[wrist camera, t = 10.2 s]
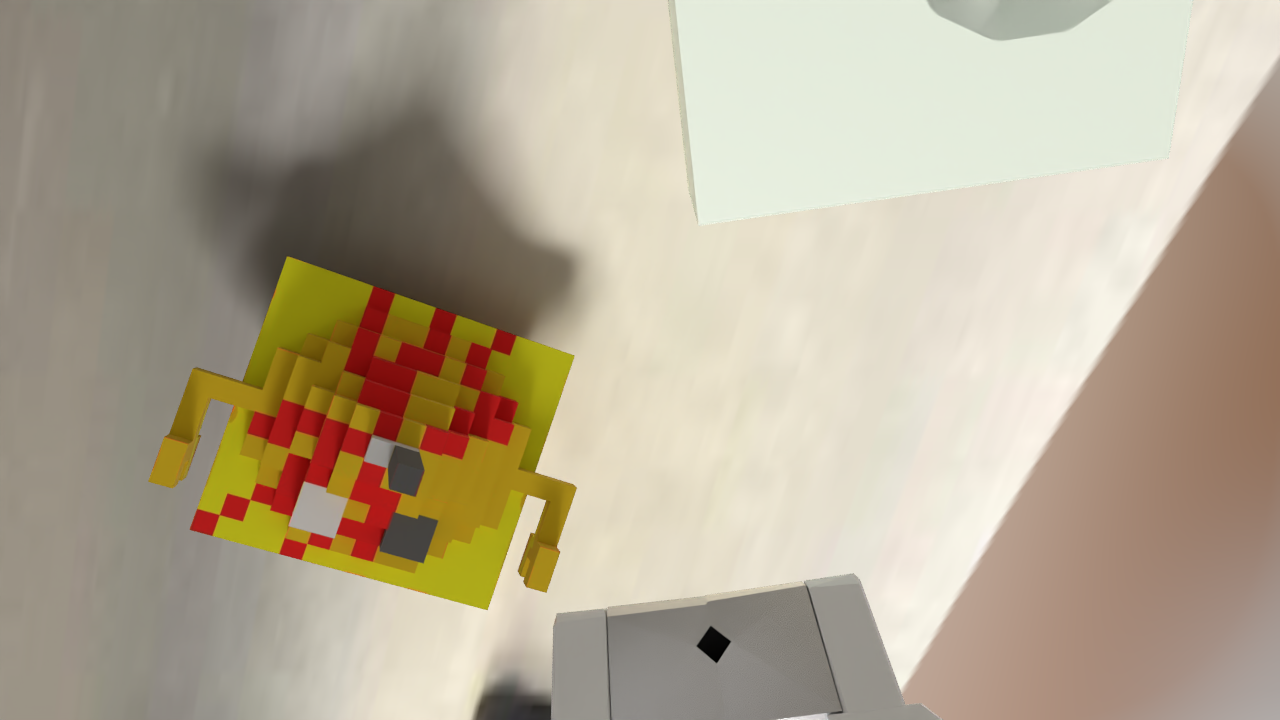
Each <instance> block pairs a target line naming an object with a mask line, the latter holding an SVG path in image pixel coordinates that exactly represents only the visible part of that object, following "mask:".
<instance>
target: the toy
mask: <svg viewBox="0 0 1280 720" xmlns="http://www.w3.org/2000/svg"><path fill="white" fill-rule="evenodd" d="M573 359H574V355H571V354H568V353H565V352H562V351H560V350H557V349H554V348H551V347H548V346H545V345H542V344H539V343H537V342H534V341H531V340H528V339H525V338H522V337H519V336H516V335H513V334H511V333H508V332H505V331H502V330H499V329H496V328H493V327H490V326H487V325H485V324H482V323H479V322H476V321H473V320H470V319H467V318H464V317H462V316H459V315H456V314H453V313H450V312H447V311H444V310H441V309H438V308H436V307H433V306H430V305H427V304H424V303H421V302H418V301H415V300H412V299H410V298H407V297H404V296H401V295H398V294H395V293H392V292H389V291H387V290H384V289H381V288H378V287H375V286H372V285H369V284H366V283H363V282H361V281H358V280H355V279H352V278H349V277H346V276H343V275H340V274H337V273H335V272H332V271H329V270H326V269H323V268H320V267H317V266H314V265H312V264H309V263H306V262H303V261H300V260H297V259H294V258H291V257H288V256H287V258H286V261H285V264H284V267H283V270H282V272H281V275H280V278H279V281H278V284H277V286H276V289H275V292H274V295H273V298H272V300H271V303H270V306H269V309H268V312H267V314H266V317H265V320H264V323H263V326H262V328H261V331H260V334H259V337H258V340H257V342H256V345H255V348H254V351H253V354H252V356H251V359H250V362H249V365H248V368H247V370H246V373H245V376H244V379H243V382H242V381H239V380H236V379H233V378H229V377H226V376H223V375H220V374H216V373H213V372H210V371H207V370H204V369H200V368H193V369H192V372H191V375H190V378H189V380H188V383H187V386H186V389H185V392H184V394H183V397H182V400H181V403H180V406H179V408H178V411H177V414H176V417H175V419H174V422H173V425H172V428H171V431H170V433H169V434H168V435H167V436H165V437H164V439H163V442H162V445H161V448H160V450H159V453H158V456H157V459H156V461H155V464H154V467H153V470H152V473H151V475H150V478H149V481H148V482H151V483H155V484H159V485H162V486H166V487H169V488H174V487H175V486H176V485H177V484H178V481H179V480H181V481H182V480H183V479H185V478H186V476H187V473H188V471H189V468H190V465H191V462H192V459H193V457H194V454H195V451H196V448H197V445H198V443H199V440H200V437H201V435H198V434H199V431H200V429H201V426H202V423H203V420H204V417H205V415H206V412H207V409H208V406H209V403H210V401H211V398H212V399H215V400H218V401H222V402H225V403H228V404H231V405H234V407H233V410H232V412H231V415H230V418H229V421H228V424H227V426H226V429H225V432H224V435H223V438H222V440H221V443H220V446H219V449H218V452H217V454H216V457H215V460H214V463H213V466H212V468H211V471H210V474H209V477H208V480H207V482H206V485H205V488H204V491H203V494H202V497H201V499H200V502H199V505H198V508H197V511H196V513H195V516H194V519H193V522H192V525H191V527H190V530H192V531H196V532H200V533H203V534H207V535H211V536H215V537H218V538H222V539H226V540H229V541H233V542H237V543H241V544H244V545H248V546H252V547H255V548H259V549H263V550H266V551H270V552H274V553H278V554H281V555H285V556H289V557H292V558H296V559H300V560H303V561H307V562H311V563H315V564H318V565H322V566H326V567H329V568H333V569H337V570H341V571H344V572H348V573H352V574H355V575H359V576H363V577H366V578H370V579H374V580H378V581H381V582H385V583H389V584H392V585H396V586H400V587H404V588H407V589H411V590H415V591H418V592H422V593H426V594H429V595H433V596H437V597H441V598H444V599H448V600H452V601H455V602H459V603H463V604H467V605H470V606H474V607H478V608H481V609H485V610H488V607H489V604H490V601H491V598H492V595H493V593H494V590H495V587H496V584H497V581H498V578H499V575H500V572H501V569H502V566H503V563H504V560H505V558H506V555H507V552H508V549H509V546H510V543H511V540H512V537H513V534H514V531H515V528H516V525H517V523H518V520H519V517H520V514H521V511H522V508H523V505H524V502H525V499H526V496H527V495H530V496H534V497H537V498H540V499H544V500H546V503H545V506H544V509H543V512H542V515H541V518H540V521H539V523H538V526H537V529H536V532H535V534H534V533H531V534H530V537H529V540H528V542H527V545H526V548H525V551H524V554H523V557H522V560H521V563H520V566H519V569H518V572H519V574H520V576H522V577H525V578H524V581H523V582H524V584H525V586H526V587H528V588H531V589H535V590H539V591H542V592H547V589H548V586H549V583H550V581H551V578H552V575H553V572H554V569H555V566H556V563H557V560H558V557H559V554H560V551H559V550H558V548H557V544H558V542H559V539H560V536H561V533H562V530H563V527H564V524H565V521H566V518H567V515H568V512H569V509H570V506H571V503H572V500H573V497H574V495H575V492H576V489H577V488H576V487H575V486H574V485H573V484H570V483H567V482H564V481H561V480H557V479H554V478H551V477H548V476H544V475H541V474H538V473H535V470H536V467H537V464H538V461H539V458H540V455H541V453H542V450H543V447H544V444H545V441H546V438H547V435H548V432H549V429H550V426H551V423H552V420H553V418H554V415H555V412H556V409H557V406H558V403H559V400H560V397H561V394H562V391H563V388H564V385H565V383H566V380H567V377H568V374H569V371H570V368H571V365H572V362H573Z"/></svg>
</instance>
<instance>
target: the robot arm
mask: <svg viewBox="0 0 1280 720" xmlns="http://www.w3.org/2000/svg"><path fill="white" fill-rule="evenodd" d="M551 720H943V719H941V718H940V717H939V716H937V715H936V714H935V713H933V712H932V711H931V710H929V709H928V708H927V707H926V706H924V705H923V704H922V703H919V704H909V705H905V702H904V700H903V697H902V694H901V691H900V689H899V686H898V683H897V680H896V677H895V675H894V672H893V669H892V666H891V664H890V661H889V658H888V655H887V653H886V650H885V647H884V644H883V642H882V639H881V636H880V633H879V631H878V628H877V625H876V622H875V620H874V617H873V614H872V611H871V609H870V606H869V603H868V600H867V598H866V595H865V592H864V589H863V587H862V584H861V581H860V580H859V579H858V577H857V576H856V575H855V574H854V573H853V574H847V575H840V576H833V577H826V578H820V579H813V580H806V581H804V583H803V582H802V581H800V582H794V583H787V584H780V585H773V586H766V587H759V588H752V589H746V590H739V591H732V592H725V593H718V594H711V595H705V596H702V597H693V598H684V599H675V600H666V601H657V602H648V603H639V604H630V605H621V606H612V607H608V609H607V608H605V609H595V610H586V611H577V612H567V613H558V614H557V616H556V619H555V623H554V626H553V664H552V706H551Z"/></svg>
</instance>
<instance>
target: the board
mask: <svg viewBox="0 0 1280 720" xmlns="http://www.w3.org/2000/svg"><path fill="white" fill-rule="evenodd" d="M668 4H669V13H670V22H671V31H672V41H673V50H674V59H675V68H676V78H677V87H678V96H679V105H680V114H681V124H682V133H683V142H684V151H685V160H686V170H687V179H688V188H689V194H690V197H691V201H692V204H693V208H694V211H695V215H696V218H697V222H698V226H700V225H707V224H714V223H721V222H728V221H735V220H742V219H749V218H756V217H763V216H770V215H777V214H784V213H791V212H798V211H805V210H812V209H819V208H826V207H833V206H840V205H847V204H854V203H861V202H868V201H875V200H882V199H889V198H896V197H903V196H910V195H917V194H924V193H931V192H938V191H945V190H952V189H959V188H966V187H973V186H980V185H987V184H994V183H1001V182H1008V181H1015V180H1022V179H1029V178H1036V177H1043V176H1050V175H1057V174H1064V173H1071V172H1078V171H1085V170H1092V169H1099V168H1105V167H1112V166H1119V165H1126V164H1133V163H1140V162H1147V161H1154V160H1161V159H1168V158H1169V154H1170V148H1171V141H1172V135H1173V128H1174V122H1175V115H1176V109H1177V102H1178V96H1179V89H1180V83H1181V76H1182V70H1183V63H1184V57H1185V50H1186V44H1187V37H1188V31H1189V25H1190V18H1191V12H1192V5H1193V0H668Z"/></svg>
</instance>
